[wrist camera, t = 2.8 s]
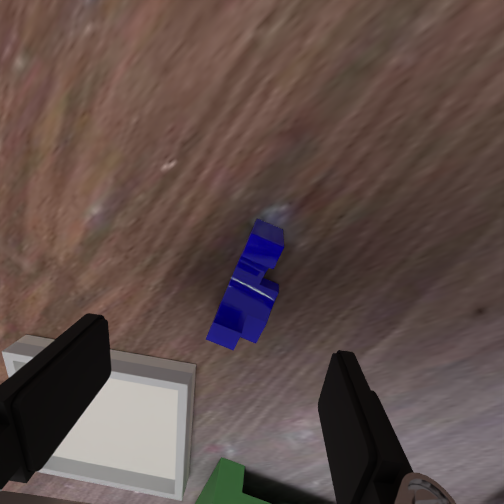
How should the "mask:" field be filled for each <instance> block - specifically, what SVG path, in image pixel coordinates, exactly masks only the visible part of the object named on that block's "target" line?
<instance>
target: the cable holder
mask: <svg viewBox="0 0 504 504" xmlns="http://www.w3.org/2000/svg"><path fill="white" fill-rule="evenodd" d="M283 249H284V237H283V229H281V228H278V227H276V226H274V225H271V224H269V223H267V222H264V221H262V220H260V219H256V221H255V223H254V226H253V228H252V230H251V233H250V235H249V237H248V240H247V242H246V244H245V247H244V249H243V251H242V254H241V256H240V258H239V261H238V263H237V265H236V268H235V270H234V272H233V275H232V277H231V279H230V282H229V284H228V286H227V289H226V291H225V293H224V296H223V298H222V300H221V303H220V305H219V307H218V310H217V312H216V315H215V317H214V320H213V322H212V325H211V327H210V330H209V332H208V335H207V337H206V340H209V341H211V342H214V343H216V344H219V345H221V346H224V347H226V348H229V349H231V350H234V348H235V346H236V344H237V342H238V340H239V338H240V337H241V338H244V339H246V340H249V341H251V342H253V343H256V342H257V340H258V339H259V337H260V335H261V333H262V331H263V329H264V327H265V325H266V323H267V321H268V318H269V315H270V312H271V309H272V307H273V304H274V302H275V300H276V297H277V295H278V293H279V284H277V283H275V282H272V281H270V280H267V279H265V278H263V277H264V275H265V273H266V271H267V270H268V269H269V268H271V269H274V267H275V265H276V263H277V261H278V259H279V257H280V255H281V253H282V251H283Z"/></svg>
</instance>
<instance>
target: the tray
mask: <svg viewBox="0 0 504 504" xmlns="http://www.w3.org/2000/svg"><path fill="white" fill-rule="evenodd" d="M53 341H54V339H49V338H43V337H37V336H32V335H25V336H23V337H22V338H21V339H19V340H18V341H16V342H15V343H13V344H12V345H10V346H9V347H8V348H6V349H5V350H3V351H2V354H3V358H4V361H5V365H6V369H7V372H8V376H9V377H11V376H12V375H13V374H14V373H15V372H17V371H18V370H19V369H20V368H21V367H23V366H24V365H25V364H26V363H28V362H29V361H30V360H31V359H32V358H34V357H35V356H36V355H37V354H38V353H40V352H41V351H42V350H43V349H44V348H46V347H47V346H48V345H49V344H50V343H52V342H53ZM110 355H111V368H112V371H111V375H110V377H109V379H108V380H107V382H106V383H105V385H104V386H103V387H102V389H101V390H100V391H99V393H98V394H97V395H96V397H95V398H94V399H93V401H92V402H91V403H90V405H89V406H88V407H87V409H86V410H85V412H84V413H83V414H82V416H81V417H80V418H79V420H78V421H77V422H76V424H75V425H74V426H73V428H72V429H71V430H70V432H69V433H68V434H67V436H66V437H65V439H64V440H63V441H62V443H61V444H60V445H59V447H58V448H57V449H56V451H55V452H54V453H53V455H52V456H51V457H50V459H49V460H48V461H47V463H46V464H45V465H44V467H43V468H42V469H41V470H39V471H36V472H41V473H46V474H51V475H56V476H61V477H66V478H71V479H76V480H81V481H86V482H91V483H96V484H101V485H106V486H111V487H116V488H121V489H126V490H131V491H136V492H141V493H146V494H151V495H156V496H160V497H165V498H170V499H175V500H180V501H182V499H183V495H184V492H185V488H186V485H187V481H188V478H189V468H190V453H191V437H192V421H193V406H194V390H195V374H196V364H191V363H185V362H180V361H174V360H168V359H162V358H157V357H151V356H145V355H140V354H134V353H128V352H123V351H117V350H111V349H110Z"/></svg>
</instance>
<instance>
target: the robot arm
mask: <svg viewBox="0 0 504 504" xmlns="http://www.w3.org/2000/svg"><path fill="white" fill-rule="evenodd" d="M111 371H112V368H111V355H110V343H109V330H108V321H107V320H105V318H104V316H102V315H97V314H90V313H89V314H86V315H84V316H83V317H82V318H81V319H79V320H78V321H77V322H76V323H75V324H73V325H72V326H71V327H70V328H69V329H67V330H66V331H65V332H64V333H63V334H61V335H60V336H59V337H58V338H57V339H55V340H54V341H53V342H52V343H50V344H49V345H48V346H47V347H46V348H44V349H43V350H42V351H41V352H40V353H38V354H37V355H36V356H35V357H34V358H32V359H31V360H30V361H29V362H28V363H26V364H25V365H24V366H23V367H21V368H20V369H19V370H18V371H17V372H15V373H14V374H13V375H12V376H11V377H9V378H8V379H7V380H6V381H5V382H3V383H2V384H1V385H0V504H90V503H83V502H76V501H70V500H63V499H57V498H50V497H44V496H37V495H31V494H23V493H15V492H7V491H2V488H3V487H4V486H5V485H6V484H7V482H8V481H9V480H10V481H16V482H22V483H27V482H28V481H29V479H30V478H31V477H32V475H33V474H34V473H35V471H39V470H41V469H42V468H43V467H44V465H45V464H46V463H47V461H48V460H49V459H50V457H51V456H52V455H53V453H54V452H55V451H56V449H57V448H58V447H59V445H60V444H61V443H62V441H63V440H64V439H65V437H66V436H67V434H68V433H69V432H70V430H71V429H72V428H73V426H74V425H75V424H76V422H77V421H78V420H79V418H80V417H81V416H82V414H83V413H84V412H85V410H86V409H87V407H88V406H89V405H90V403H91V402H92V401H93V399H94V398H95V397H96V395H97V394H98V393H99V391H100V390H101V389H102V387H103V386H104V385H105V383H106V382H107V380H108V379H109V377H110V375H111ZM318 412H319V417H320V422H321V427H322V432H323V437H324V442H325V447H326V452H327V457H328V462H329V467H330V472H331V477H332V481H333V486H334V491H335V496H336V501H337V504H456V503H455V501H454V500H453V498H452V497H451V496H450V495H449V494H448V492H447V491H446V490H445V489H444V488H443V487H441V486H440V485H439V484H438V483H437V482H436V481H434V480H432V479H431V478H429V477H428V476H425V475H423V474H420V473H414V472H413V470H412V468H411V466H410V464H409V462H408V460H407V457H406V455H405V453H404V451H403V449H402V447H401V445H400V442H399V440H398V438H397V436H396V434H395V432H394V430H393V428H392V425H391V423H390V421H389V419H388V417H387V415H386V413H385V410H384V408H383V406H382V404H381V402H380V400H379V398H378V396H377V394H376V393H375V392H374V391H371V390H370V387H369V385H368V383H367V381H366V379H365V376H364V374H363V372H362V370H361V367H360V365H359V363H358V361H357V359H356V356H355V354H354V353H353V352H348V351H341V350H338V351H337V353H333V354H332V357H331V360H330V364H329V367H328V371H327V374H326V377H325V381H324V384H323V387H322V391H321V394H320V398H319V401H318Z"/></svg>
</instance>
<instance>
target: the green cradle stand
mask: <svg viewBox="0 0 504 504" xmlns="http://www.w3.org/2000/svg"><path fill="white" fill-rule="evenodd" d="M244 470H245V466H244V465H241V464H238V463H236V462H233V461H230V460H228V459H225V458H222V457H221V459H220V461H219V462H218V464H217V466H216V468H215V469H214V471H213V473H212V475H211V476H210V478H209V480H208V482H207V483H206V485H205V487H204V489H203V491H202V492H201V494H200V496H199V498H198V499H197V501H196V503H195V504H271V503H268V502H266V501H263V500H260V499H258V498H255V497H252V496H249V495H247V494H244V493H242V488H243V479H244Z"/></svg>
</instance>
